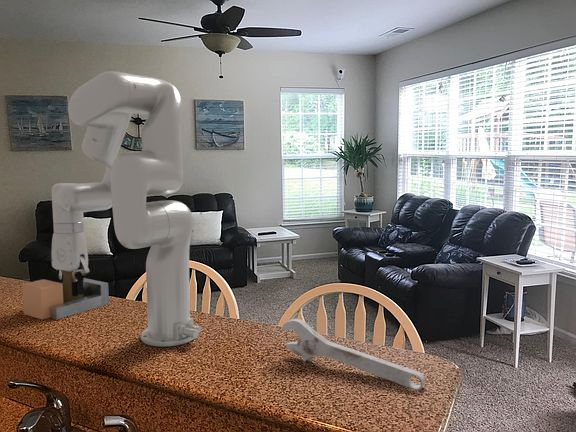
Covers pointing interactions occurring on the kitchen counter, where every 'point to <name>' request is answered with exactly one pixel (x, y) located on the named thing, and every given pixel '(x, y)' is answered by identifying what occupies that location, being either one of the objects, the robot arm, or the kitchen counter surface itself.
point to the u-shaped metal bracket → (83, 300)
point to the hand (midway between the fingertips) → (72, 293)
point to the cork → (69, 287)
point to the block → (41, 297)
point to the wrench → (347, 355)
